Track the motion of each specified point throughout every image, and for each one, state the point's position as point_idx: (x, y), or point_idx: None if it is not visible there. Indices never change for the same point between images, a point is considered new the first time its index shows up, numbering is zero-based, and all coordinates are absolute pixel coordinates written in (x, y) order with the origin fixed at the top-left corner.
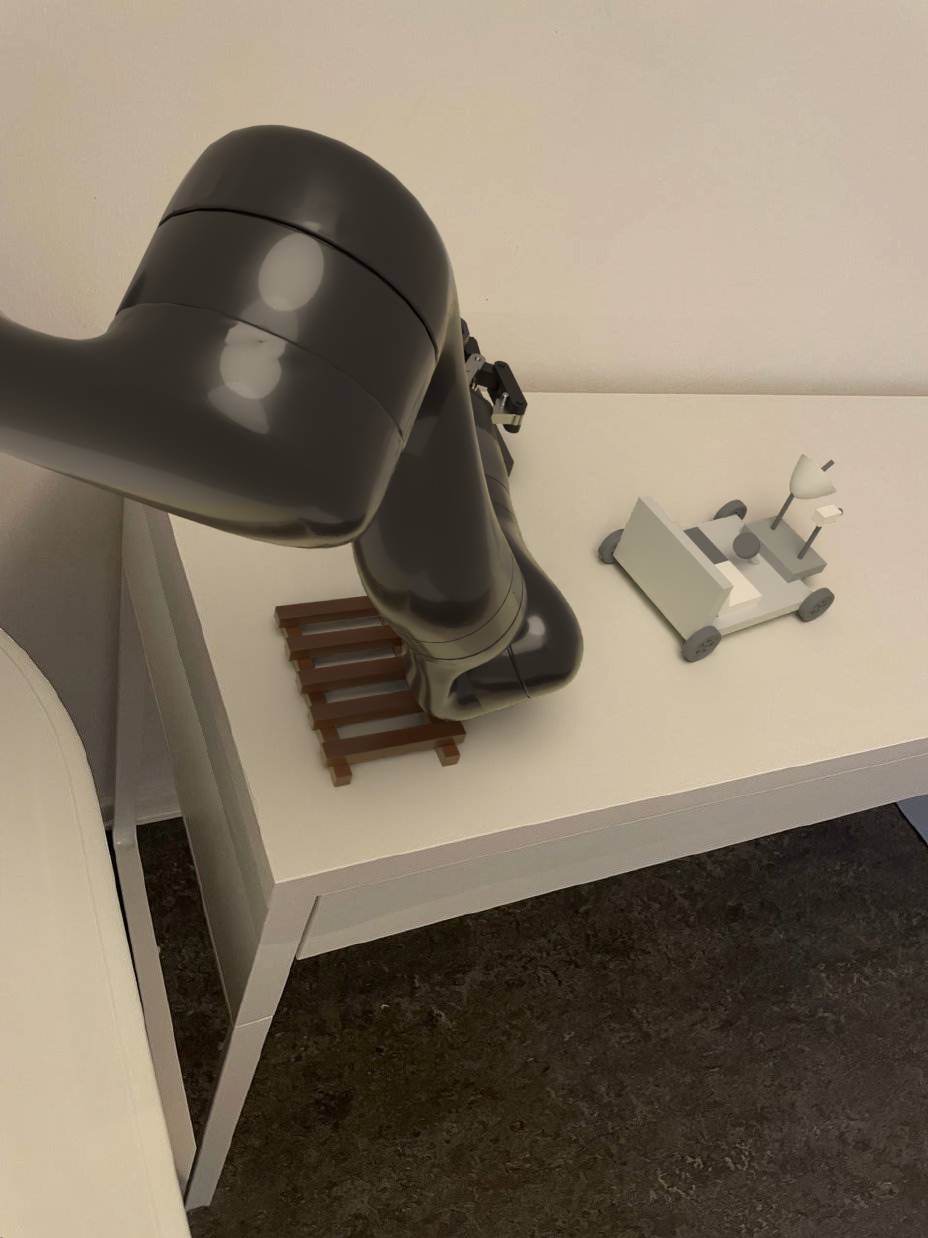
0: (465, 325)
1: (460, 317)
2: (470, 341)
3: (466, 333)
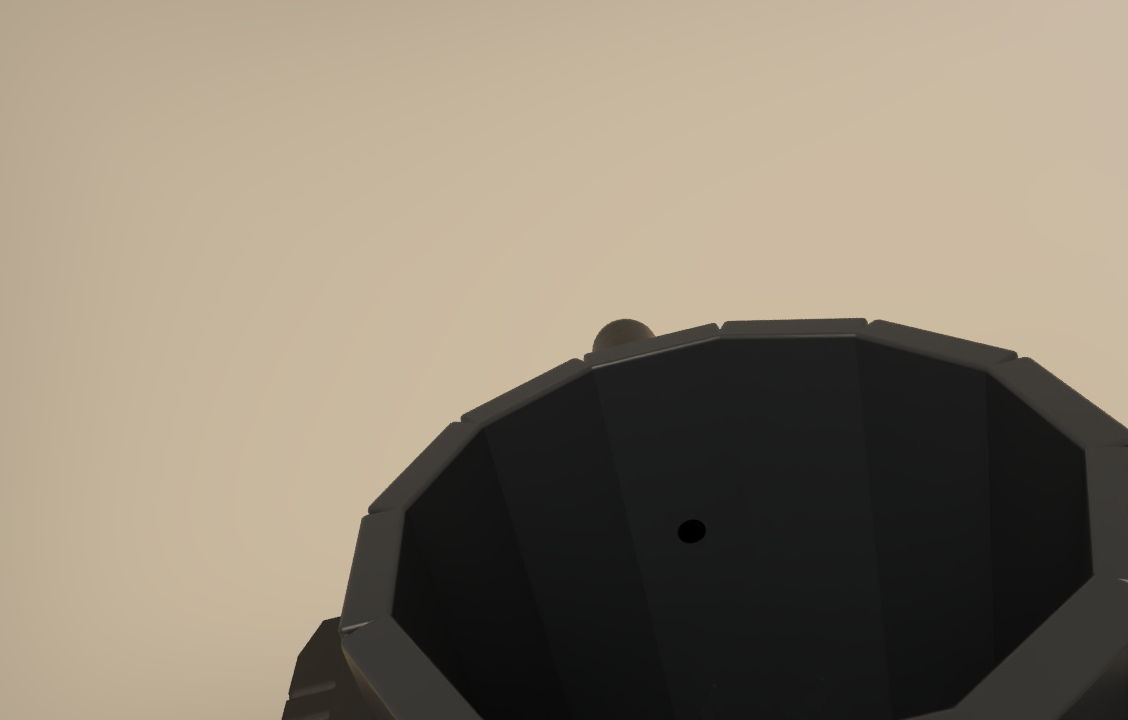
0: (1043, 383)
1: (956, 341)
2: None
3: (1112, 451)
